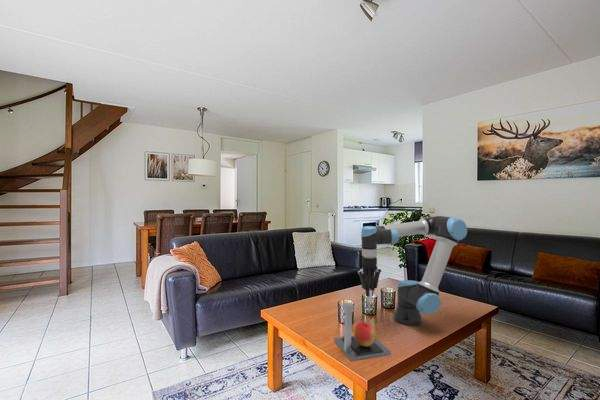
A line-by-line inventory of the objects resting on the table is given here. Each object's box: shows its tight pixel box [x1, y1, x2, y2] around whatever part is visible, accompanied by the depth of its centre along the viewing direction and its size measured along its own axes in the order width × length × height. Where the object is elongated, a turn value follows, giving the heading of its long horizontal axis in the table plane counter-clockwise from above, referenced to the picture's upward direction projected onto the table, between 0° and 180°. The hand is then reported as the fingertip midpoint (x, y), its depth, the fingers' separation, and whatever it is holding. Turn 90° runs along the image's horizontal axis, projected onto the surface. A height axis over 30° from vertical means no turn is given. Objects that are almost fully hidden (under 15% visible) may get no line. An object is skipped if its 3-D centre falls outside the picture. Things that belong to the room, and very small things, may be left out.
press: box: [333, 302, 392, 362], centre depth 140 cm, size 21×18×22 cm
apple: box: [353, 321, 377, 347], centre depth 138 cm, size 10×10×10 cm
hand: (369, 302), depth 152 cm, fingers closed
